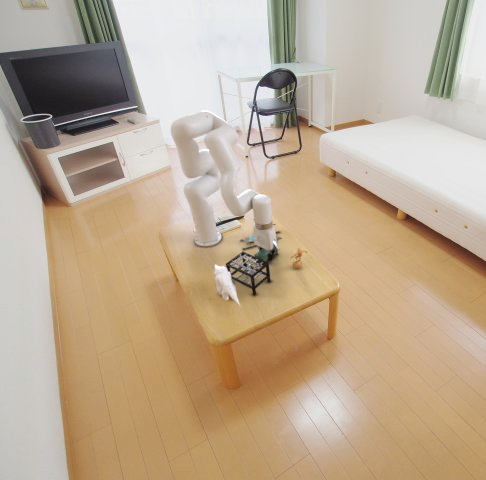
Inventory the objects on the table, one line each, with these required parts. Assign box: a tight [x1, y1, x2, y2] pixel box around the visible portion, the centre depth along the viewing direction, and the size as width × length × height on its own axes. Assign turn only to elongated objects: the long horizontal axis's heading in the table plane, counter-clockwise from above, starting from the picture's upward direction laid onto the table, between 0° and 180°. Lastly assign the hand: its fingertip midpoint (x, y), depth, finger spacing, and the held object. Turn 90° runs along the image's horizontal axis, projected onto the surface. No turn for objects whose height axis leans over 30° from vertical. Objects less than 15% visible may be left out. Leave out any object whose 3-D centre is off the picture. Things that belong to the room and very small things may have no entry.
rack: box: [225, 251, 272, 297], centre depth 137 cm, size 14×10×10 cm
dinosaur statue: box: [213, 264, 241, 307], centre depth 130 cm, size 7×24×11 cm, turn 35°
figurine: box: [289, 247, 308, 270], centre depth 144 cm, size 8×6×12 cm
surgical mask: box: [240, 223, 283, 250], centre depth 164 cm, size 21×4×10 cm
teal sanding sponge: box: [254, 244, 279, 265], centre depth 152 cm, size 11×4×5 cm, turn 148°
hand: (267, 257), depth 152 cm, fingers closed on teal sanding sponge, 4 cm apart
